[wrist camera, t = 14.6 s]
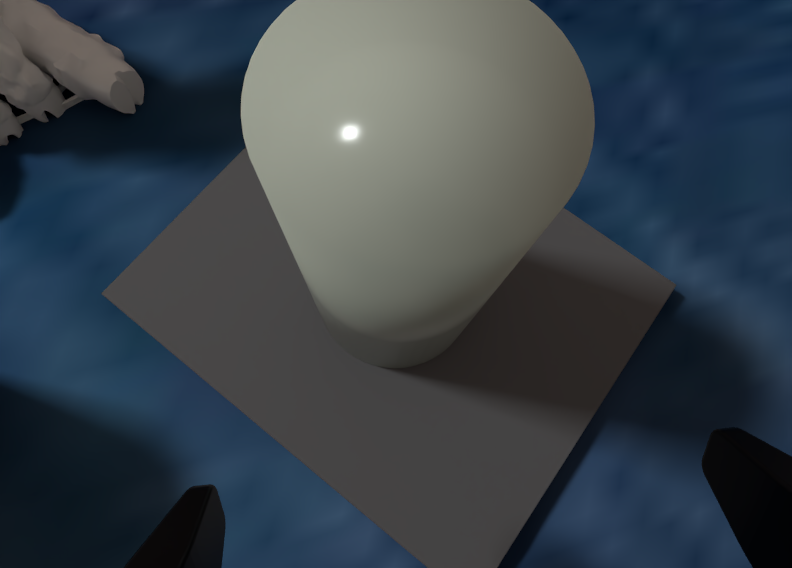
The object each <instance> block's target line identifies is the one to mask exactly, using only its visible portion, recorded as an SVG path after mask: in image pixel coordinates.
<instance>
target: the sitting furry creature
mask: <svg viewBox="0 0 792 568" xmlns="http://www.w3.org/2000/svg"><path fill="white" fill-rule="evenodd" d="M52 78H55V79H56V80H57V81H58V82H59V83H60V84H59V85H58V86H56V85H55V84H54V83H53V79H52ZM66 88H67V89H69V90H70V91H72V92H73V93H74V94H76V95H74V96H72V97H71V98H69V99H67V100H65V98H64V96H63V94H62V92H63V91H64V90H65V89H66ZM0 94H3V95H5V96H6V99H7V101H8V102H9V103H11V104H13V105H14V106H16V107H17V108H19V109H23V110H24V111H25V112H26V113H25V114H22V115H20V116H17V117H16V116H15V115H14V114H13V113H12V108H11V107H10V106H9V104H7V103H6V102H5V101H3V100H1V99H0V146H1V145H7V144H8V142H9V141H8V139H7V136H8V135H12V134H13V135H14V136H16V137H18V138H20V137H21V135H22V131H23V128H22V126H21V124H22V123H24V122H26V121H28V120H30V119H32V118H35V119H37V120H39V121H41V122H49V121H48V119H47V116H46V114H45V112H44V111H48V112H50V113H52V114H53V115H54V116H56V117H57V118H59V117H60V116H61V115H62V114H63V113H64V111H65V110H66V109H68V108H70V107H72V106H74V105H75V104H77V103H79V102H81V101H83V100H91V99H95V100H98V101H99V102H101V103H102V104H104V105H106V106H108V107H110V108H113V109H115V110H118V111H120V112H122V113H131V114H134V113H135V112H136V109H135V105H134V104H137V105H141V104H142V103H143V97H144V85H143V82H142V79H141V78H140V76H139V75H138V74H137V72H136V71H135V69H134V68H133V67H131V66H130V65H129V64H127V63H126V62H125V61H124V56H123V53H122V52H121V50H120V49H118V48H117V47H115V46H113V45H110V44H108V43H106V42H104V41H103V40H102V38H101V37H100V35H97V34H89V33H88V32H86V31H85V30H83V29H82V28H81V27H79V26H76V25H75V24H73V23H71V22H69V21H66V20H65V19H63V18H62V17H60V16H59V15H58V14H57V13H56V11H54V10H53V9H52V8H51V7H50V6H48V5H45V4H42V3H39V2H37V1H36V0H0Z"/></svg>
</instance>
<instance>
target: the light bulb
mask: <svg viewBox="0 0 792 568" xmlns="http://www.w3.org/2000/svg"><path fill="white" fill-rule="evenodd" d="M241 123H242V130H243V138H244V141H245V144H246V148H247V151H248V155H249V158H250V160H251V163H252V165H253V167H254V169H255V171H256V174H257V176H258V178H259V180H260V182H261V185H262V187H263V189H264V191H265V193H266V196H267V198H268V200H269V202H270V205H271V207H272V209H273V211H274V213H275V216H276V218H277V220H278V222H279V224H280V227H281V229H282V231H283V233H284V235H285V238H286V240H287V242H288V244H289V247H290V249H291V251H292V253H293V255H294V258H295V260H296V262H297V264H298V266H299V269H300V271H301V273H302V275H303V277H304V280H305V282H306V284H307V286H308V289H309V291H310V293H311V295H312V297H313V300H314V302H315V304H316V306H317V308H318V311H319V313H320V315H321V317H322V319H323V322H324V324H325V326H326V328H327V330H328V331H329V333H330V334H331V336H332V337H333V339H334V340H335V341H336V342H337V343H338V344H339V345H340V346H341V347H342V348H343V349H344V350H345V351H346V352H348V353H349V354H351V355H352V356H354V357H355V358H357V359H359V360H361V361H363V362H365V363H368V364H371V365H374V366H379V367H384V368H407V367H412V366H416V365H419V364H422V363H425V362H427V361H429V360H431V359H433V358H435V357H437V356H438V355H440V354H441V353H443V352H444V351H445V350H446V349H447V348H448V347H449V346H451V344H452V343H453V342H454V341H455V340H456V339H457V337H458V336H459V335H460V334H461V332H462V331H463V330H464V329H465V328H466V326H467V325H468V324H469V323H470V321H471V320H472V319H473V318H474V316H475V315H476V314H477V313H478V312H479V310H480V309H481V308H482V307H483V305H484V304H485V303H486V302H487V301H488V299H489V298H490V297H491V296H492V294H493V293H494V292H495V291H496V289H497V288H498V287H499V286H500V285H501V283H502V282H503V281H504V280H505V278H506V277H507V276H508V275H509V273H510V272H511V271H512V270H513V269H514V267H515V266H516V265H517V264H518V262H519V261H520V260H521V259H522V257H523V256H524V255H525V254H526V253H527V251H528V250H529V249H530V248H531V246H532V245H533V244H534V243H535V242H536V240H537V239H538V238H539V237H540V235H541V234H542V233H543V232H544V230H545V229H546V228H547V227H548V226H549V224H550V223H551V222H552V221H553V219H554V218H555V217H556V216H557V214H558V213H559V212H560V211H561V210H562V208H563V207H564V206H565V205H566V203H567V202H568V201H569V199H570V198H571V196H572V194H573V193H574V191H575V190H576V188H577V186H578V185H579V183H580V181H581V178H582V176H583V174H584V171H585V169H586V167H587V165H588V161H589V157H590V153H591V149H592V145H593V136H594V127H595V121H594V104H593V99H592V94H591V89H590V85H589V82H588V79H587V76H586V73H585V70H584V67H583V65H582V63H581V61H580V60H579V58H578V56H577V54H576V52H575V50H574V48H573V47H572V45H571V44H570V42H569V41H568V39H567V38H566V37H565V35H564V34H563V32H562V31H561V30H560V29H559V28H558V27H557V26H556V24H555V23H554V22H553V21H552V20H551V19H550V18H549V17H548V16H547V15H546V14H545V13H544V12H543V11H541V10H540V9H539V8H538V7H537V6H536V5H535V4H533V3H532V2H531V1H529V0H296V1H295V2H294V3H292V4H291V5H290V6H289V7H288V8H286V9H285V10H284V11H283V12H282V13H281V15H280V16H279V17H278V18H277V19H276V20H275V21H274V22H273V23H272V24H271V26H270V27H269V29H268V30H267V31H266V33H265V34H264V36H263V37H262V38H261V40H260V42H259V44H258V46H257V47H256V49H255V51H254V53H253V55H252V57H251V60H250V63H249V66H248V69H247V72H246V75H245V78H244V84H243V89H242V95H241Z"/></svg>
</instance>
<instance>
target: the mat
mask: <svg viewBox="0 0 792 568" xmlns="http://www.w3.org/2000/svg"><path fill="white" fill-rule="evenodd" d="M675 286H676V284H674V283H673V282H671V281H670V280H668V279H667V278H665V277H664V276H663V275H661V274H660V273H658V272H657V271H655V270H654V269H652V268H651V267H649V266H648V265H646V264H645V263H644V262H642V261H641V260H639V259H638V258H636V257H635V256H633V255H632V254H630V253H629V252H627V251H626V250H624V249H623V248H622V247H620V246H619V245H617V244H616V243H614V242H613V241H611V240H610V239H608V238H607V237H605V236H604V235H603V234H601V233H600V232H598V231H597V230H595V229H594V228H592V227H591V226H589V225H588V224H586V223H585V222H584V221H582V220H581V219H579V218H578V217H576V216H575V215H573V214H572V213H570V212H569V211H567V210H566V209H565V208H562V210H561V211H560V212H559V213H558V214H557V216H556V217H555V218H554V219H553V221H552V222H551V223H550V224H549V226H548V227H547V228H546V229H545V230H544V232H543V233H542V234H541V235H540V237H539V238H538V239H537V240H536V242H535V243H534V244H533V245H532V246H531V248H530V249H529V250H528V251H527V253H526V254H525V255H524V256H523V257H522V259H521V260H520V261H519V262H518V264H517V265H516V266H515V267H514V269H513V270H512V271H511V272H510V273H509V275H508V276H507V277H506V278H505V280H504V281H503V282H502V283H501V285H500V286H499V287H498V288H497V289H496V291H495V292H494V293H493V294H492V296H491V297H490V298H489V299H488V301H487V302H486V303H485V304H484V305H483V307H482V308H481V309H480V310H479V312H478V313H477V314H476V315H475V316H474V318H473V319H472V320H471V321H470V323H469V324H468V325H467V326H466V328H465V329H464V330H463V331H462V332H461V334H460V335H459V336H458V337H457V339H456V340H455V341H454V342H453V343H452V344H451V346H449V347H448V348H447V349H446V350H445V351H444V352H443V353H441V354H440V355H438V356H437V357H435V358H433V359H431V360H429V361H427V362H425V363H422V364H419V365H416V366H412V367H407V368H384V367H379V366H374V365H371V364H368V363H365V362H363V361H361V360H359V359H357V358H355V357H354V356H352V355H351V354H349V353H348V352H346V351H345V350H344V349H343V348H342V347H341V346H340V345H339V344H338V343H337V342H336V341H335V340H334V339H333V337H332V336H331V334H330V333H329V331H328V330H327V328H326V326H325V324H324V322H323V319H322V317H321V315H320V313H319V311H318V308H317V306H316V304H315V302H314V300H313V297H312V295H311V293H310V291H309V289H308V286H307V284H306V282H305V280H304V277H303V275H302V273H301V271H300V269H299V266H298V264H297V262H296V260H295V258H294V255H293V253H292V251H291V249H290V247H289V244H288V242H287V240H286V238H285V235H284V233H283V231H282V229H281V227H280V224H279V222H278V220H277V218H276V216H275V213H274V211H273V209H272V207H271V205H270V202H269V200H268V198H267V196H266V193H265V191H264V189H263V187H262V185H261V182H260V180H259V178H258V176H257V174H256V171H255V169H254V167H253V165H252V163H251V160H250V158H249V155H248V151H247V148H246V147H245V148H244V149H243V150H242V151H241V152H240V153H239V154H238V155H237V156H236V158H235V159H234V160H233V161H232V162H231V163H230V164H229V165H228V166H227V167H226V168H225V169H224V170H223V171H222V172H221V173H220V174H219V175H218V176H217V177H216V178H215V179H214V180H213V181H212V182H211V183H210V184H209V185H208V186H207V187H206V188H205V189H204V190H203V191H202V192H201V193H200V194H199V195H198V196H197V197H196V198H195V199H194V200H193V201H192V202H191V203H190V204H189V205H188V206H187V207H186V208H185V209H184V210H183V211H182V212H181V213H180V214H179V215H178V216H177V217H176V218H175V219H174V220H173V221H172V222H171V223H170V224H169V225H168V226H167V227H166V228H165V230H164V231H163V232H162V233H161V234H160V235H159V236H158V237H157V238H156V239H155V240H154V241H153V242H152V243H151V244H150V245H149V246H148V247H147V248H146V249H145V250H144V251H143V252H142V253H141V254H140V255H139V256H138V257H137V258H136V259H135V260H134V261H133V262H132V263H131V264H130V265H129V266H128V267H127V268H126V269H125V270H124V271H123V272H122V273H121V274H120V275H119V276H118V277H117V278H116V279H115V280H114V281H113V282H112V283H111V284H110V285H109V286H108V287H107V288H106V289H105V290H104V291H103V292H102V293H101V294H102V295H104V296H105V297H106V298H107V299H108V300H110V301H111V302H112V303H113V304H114V305H115V306H117V307H118V308H119V309H120V310H121V311H123V312H124V313H125V314H126V315H127V316H129V317H130V318H131V319H132V320H133V321H135V322H136V323H137V324H138V325H139V326H140V327H142V328H143V329H144V330H145V331H146V332H148V333H149V334H150V335H151V336H152V337H154V338H155V339H156V340H157V341H158V342H160V343H161V344H162V345H163V346H164V347H165V348H167V349H168V350H169V351H170V352H171V353H173V354H174V355H175V356H176V357H177V358H179V359H180V360H181V361H182V362H183V363H185V364H186V365H187V366H188V367H189V368H191V369H192V370H193V371H194V372H195V373H196V374H198V375H199V376H200V377H201V378H202V379H204V380H205V381H206V382H207V383H208V384H210V385H211V386H212V387H213V388H214V389H216V390H217V391H218V392H219V393H220V394H221V395H223V396H224V397H225V398H226V399H227V400H229V401H230V402H231V403H232V404H233V405H235V406H236V407H237V408H238V409H239V410H241V411H242V412H243V413H244V414H245V415H246V416H248V417H249V418H250V419H251V420H252V421H254V422H255V423H256V424H257V425H258V426H260V427H261V428H262V429H263V430H264V431H266V432H267V433H268V434H269V435H270V436H271V437H273V438H274V439H275V440H276V441H277V442H279V443H280V444H281V445H282V446H283V447H285V448H286V449H287V450H288V451H289V452H291V453H292V454H293V455H294V456H295V457H296V458H298V459H299V460H300V461H301V462H302V463H304V464H305V465H306V466H307V467H308V468H310V469H311V470H312V471H313V472H314V473H316V474H317V475H318V476H319V477H320V478H321V479H323V480H324V481H325V482H326V483H327V484H329V485H330V486H331V487H332V488H333V489H335V490H336V491H337V492H338V493H339V494H341V495H342V496H343V497H344V498H345V499H346V500H348V501H349V502H350V503H351V504H352V505H354V506H355V507H356V508H357V509H358V510H360V511H361V512H362V513H363V514H364V515H366V516H367V517H368V518H369V519H370V520H371V521H373V522H374V523H375V524H376V525H377V526H379V527H380V528H381V529H382V530H383V531H385V532H386V533H387V534H388V535H389V536H391V537H392V538H393V539H394V540H395V541H397V542H398V543H399V544H400V545H401V546H402V547H404V548H405V549H406V550H407V551H408V552H410V553H411V554H412V555H413V556H414V557H416V558H417V559H418V560H419V561H420V562H422V563H423V564H424V565H425V566H426V567H427V568H497V567H498V565H499V564H500V562H501V561H502V559H503V557H504V556H505V554H506V553H507V551H508V550H509V548H510V546H511V545H512V543H513V542H514V540H515V539H516V537H517V535H518V534H519V532H520V531H521V529H522V527H523V526H524V524H525V523H526V521H527V520H528V518H529V516H530V515H531V513H532V512H533V510H534V509H535V507H536V505H537V504H538V502H539V501H540V499H541V498H542V496H543V494H544V493H545V491H546V490H547V488H548V487H549V485H550V483H551V482H552V480H553V479H554V477H555V475H556V474H557V472H558V471H559V469H560V468H561V466H562V464H563V463H564V461H565V460H566V458H567V457H568V455H569V453H570V452H571V450H572V449H573V447H574V446H575V444H576V442H577V441H578V439H579V438H580V436H581V434H582V433H583V431H584V430H585V428H586V427H587V425H588V423H589V422H590V420H591V419H592V417H593V416H594V414H595V412H596V411H597V409H598V408H599V406H600V405H601V403H602V401H603V400H604V398H605V397H606V395H607V394H608V392H609V390H610V389H611V387H612V386H613V384H614V382H615V381H616V379H617V378H618V376H619V375H620V373H621V371H622V370H623V368H624V367H625V365H626V364H627V362H628V360H629V359H630V357H631V356H632V354H633V353H634V351H635V349H636V348H637V346H638V345H639V343H640V342H641V340H642V338H643V337H644V335H645V334H646V332H647V330H648V329H649V327H650V326H651V324H652V323H653V321H654V319H655V318H656V316H657V315H658V313H659V312H660V310H661V308H662V307H663V305H664V304H665V302H666V301H667V299H668V297H669V296H670V294H671V293H672V291H673V290H674V288H675Z"/></svg>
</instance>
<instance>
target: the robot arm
mask: <svg viewBox="0 0 792 568" xmlns="http://www.w3.org/2000/svg"><path fill="white" fill-rule="evenodd" d="M702 469H703V472H704V475H705V477H706V479H707V481H708V483H709V485H710V487H711V489H712V491H713V493H714V495H715V497H716V499H717V501H718V503H719V505H720V507H721V509H722V511H723V512H724V514H725V516H726V518H727V520H728V522H729V524H730V526H731V528H732V530H733V532H734V534H735V536H736V538H737V540H738V542H739V544H740V546H741V548H742V550H743V551H744V553H745V555H746V557H747V558H748V560H749V562H750V563H751V565H752V567H753V568H792V457H791V456H790V455H788V454H786V453H784V452H782V451H780V450H779V449H777V448H775V447H773V446H771V445H769V444H768V443H766V442H764V441H762V440H760V439H758V438H757V437H755V436H753V435H751V434H749V433H747V432H746V431H744V430H742V429H739V428H735V427H731V428H722V429H716V430H714V431H713V432H712V433H711V435H710V438H709V441H708V443H707V446H706V449H705V452H704V455H703V458H702ZM224 537H225V515H224V512H223V508H222V505H221V502H220V498H219V495H218V492H217V489H216V487H215V486H214V485H201V486H193V487H191V488H189V489H188V490H187V491H186V492H185V493H184V494H183V495H182V497H181V498H180V499H179V500H178V502H177V503H176V504H175V505H174V506H173V508H172V509H171V510H170V511H169V513H168V514H167V515H166V516H165V518H164V519H163V520H162V521H161V522H160V524H159V525H158V526H157V527H156V529H155V530H154V531H153V532H152V533H151V535H150V536H149V537H148V538H147V540H146V541H145V542H144V543H143V544H142V546H141V547H140V548H139V549H138V551H137V552H136V553H135V554H134V556H133V557H132V558H131V559H130V560H129V562H128V563H127V564H126V565H125V567H124V568H221V566H222V556H223V547H224Z"/></svg>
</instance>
